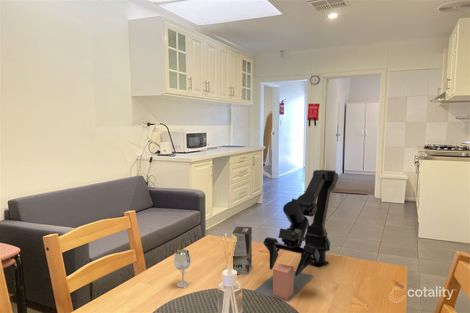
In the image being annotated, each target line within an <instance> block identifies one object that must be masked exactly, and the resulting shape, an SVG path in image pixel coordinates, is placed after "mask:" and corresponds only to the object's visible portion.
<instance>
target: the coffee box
mask: <svg viewBox="0 0 470 313" xmlns="http://www.w3.org/2000/svg"><path fill="white" fill-rule="evenodd" d="M252 231H253V230H252V227H251V226H236V227H235V228H234V230H233V232H232V233H231V235H232V234H233V235H235V236H236V237H237V242H236V245H235V250H234V256H233V269H234V270H236V271H237V274H238V275H239V276H240V275H242V276H244V275H245V276H246V275H247V276H248V275H249V274H250V272H251V269H252V267H253V265H252V264H253V262H252V261H253V259H252V258H253V257H252V256H253V252H252V251H253V248H252V246H253V244H252V240H253V237H252V236H253V235H252V233H253V232H252Z"/></svg>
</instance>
